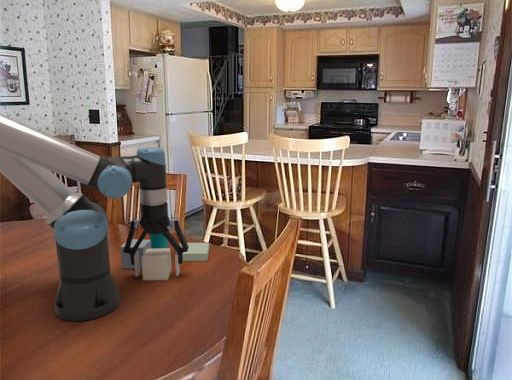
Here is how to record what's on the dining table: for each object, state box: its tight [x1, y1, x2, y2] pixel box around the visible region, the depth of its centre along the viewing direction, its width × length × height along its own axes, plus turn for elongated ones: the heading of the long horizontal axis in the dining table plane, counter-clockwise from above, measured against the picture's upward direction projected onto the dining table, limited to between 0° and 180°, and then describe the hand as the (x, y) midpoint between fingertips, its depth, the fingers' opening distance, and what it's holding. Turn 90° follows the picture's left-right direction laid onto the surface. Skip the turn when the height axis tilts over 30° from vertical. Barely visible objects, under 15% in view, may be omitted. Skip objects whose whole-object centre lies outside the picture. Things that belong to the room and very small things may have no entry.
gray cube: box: [119, 238, 151, 270], centre depth 131 cm, size 7×7×7 cm
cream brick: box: [141, 247, 172, 281], centre depth 123 cm, size 7×7×7 cm
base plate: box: [179, 242, 210, 262], centre depth 139 cm, size 10×10×2 cm
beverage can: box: [149, 234, 169, 249], centre depth 138 cm, size 6×6×15 cm
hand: (157, 274), depth 124 cm, fingers open, 11 cm apart
